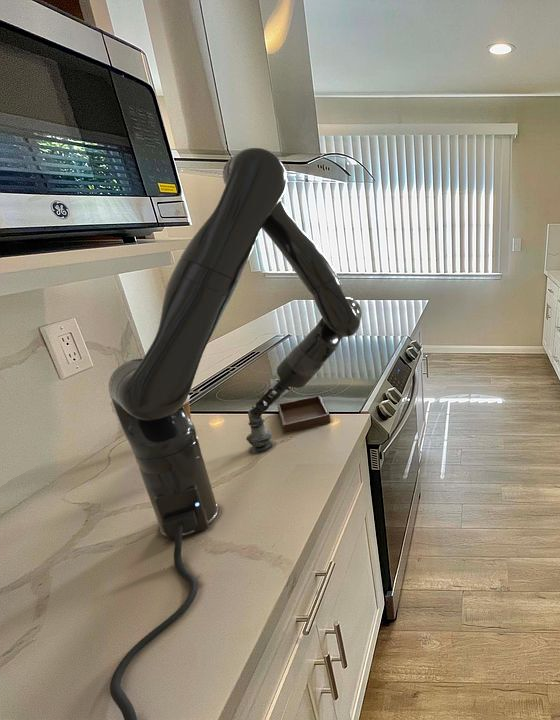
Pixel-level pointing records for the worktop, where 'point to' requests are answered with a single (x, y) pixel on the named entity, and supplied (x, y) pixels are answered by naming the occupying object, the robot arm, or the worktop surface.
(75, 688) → the worktop surface
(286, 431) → the spice tray
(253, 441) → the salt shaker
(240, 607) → the worktop surface
